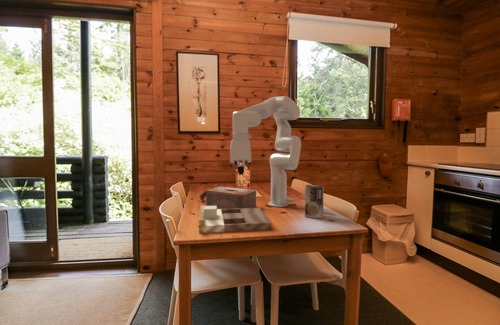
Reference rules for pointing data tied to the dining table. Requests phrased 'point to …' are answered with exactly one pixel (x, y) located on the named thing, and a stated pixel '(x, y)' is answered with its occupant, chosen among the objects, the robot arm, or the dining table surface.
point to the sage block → (210, 211)
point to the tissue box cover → (230, 198)
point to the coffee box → (314, 201)
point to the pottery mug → (203, 196)
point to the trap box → (234, 220)
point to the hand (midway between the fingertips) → (240, 174)
